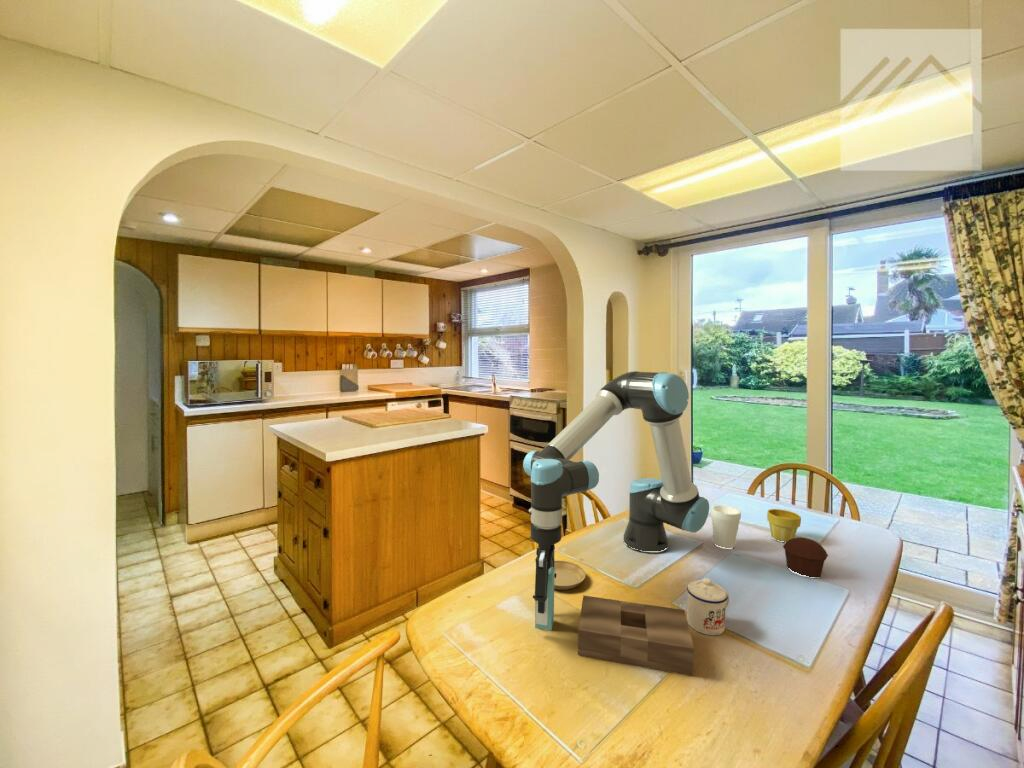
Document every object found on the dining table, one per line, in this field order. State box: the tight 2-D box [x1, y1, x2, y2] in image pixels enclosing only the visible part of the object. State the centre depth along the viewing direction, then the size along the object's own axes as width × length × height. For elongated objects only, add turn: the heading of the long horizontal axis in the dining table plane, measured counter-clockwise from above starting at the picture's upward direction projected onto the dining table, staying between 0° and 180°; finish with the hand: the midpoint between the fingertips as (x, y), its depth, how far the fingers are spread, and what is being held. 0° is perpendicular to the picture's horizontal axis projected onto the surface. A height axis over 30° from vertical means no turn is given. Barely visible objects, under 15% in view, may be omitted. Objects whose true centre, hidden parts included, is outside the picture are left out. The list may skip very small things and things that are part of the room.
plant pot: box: [766, 508, 802, 542], centre depth 156 cm, size 10×10×10 cm
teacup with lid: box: [686, 577, 730, 636], centre depth 107 cm, size 12×9×12 cm
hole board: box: [577, 595, 695, 677], centre depth 99 cm, size 14×24×6 cm, turn 76°
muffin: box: [782, 536, 829, 578], centre depth 133 cm, size 12×11×10 cm
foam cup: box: [710, 504, 742, 548], centre depth 151 cm, size 10×9×13 cm
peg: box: [534, 567, 555, 631], centre depth 106 cm, size 4×4×14 cm
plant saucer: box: [554, 560, 587, 591], centre depth 127 cm, size 15×15×3 cm
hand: (544, 612), depth 106 cm, fingers open, 8 cm apart
